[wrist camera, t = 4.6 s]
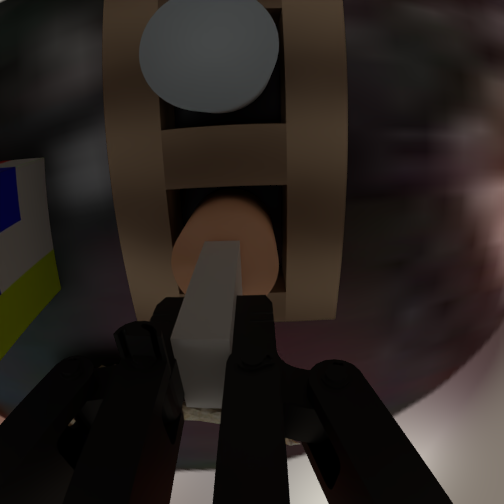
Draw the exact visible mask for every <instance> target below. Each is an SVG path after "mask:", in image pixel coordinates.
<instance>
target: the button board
mask: <svg viewBox="0 0 504 504" xmlns="http://www.w3.org/2000/svg"><path fill="white" fill-rule="evenodd" d="M168 1H169V0H104V9H103V38H102V70H103V100H104V117H105V131H106V143H107V153H108V162H109V171H110V179H111V187H112V194H113V201H114V208H115V215H116V221H117V227H118V233H119V238H120V244H121V249H122V254H123V259H124V264H125V269H126V274H127V279H128V283H129V288H130V292H131V296H132V301H133V305H134V309H135V313H136V317H137V321H149V322H150V319H151V317H152V315H153V312H154V310H155V308H156V306H157V304H158V303H160V302H161V301H162V300H163V299H164V298H165V297H185V294H184V293H183V291H182V290H181V289H180V287H179V286H178V284H177V282H176V280H175V278H174V275H173V272H172V266H171V257H172V251H173V247H174V245H175V242H176V240H177V239H178V237H179V235H180V233H181V232H182V230H183V218H182V208H181V198H180V189H185V188H203V187H224V186H253V185H282V268H279V271H278V276H277V279H276V282H275V284H274V286H273V288H272V289H271V291H270V292H269V293H268V295H267V297H268V298H269V299H270V301H271V302H272V305H273V316H274V322H285V321H308V320H326V319H335V316H336V308H337V299H338V290H339V281H340V270H341V260H342V248H343V235H344V221H345V204H346V183H347V151H348V91H347V60H346V41H345V25H344V12H343V1H342V0H257V1H258V2H259V3H260V4H261V5H263V7H264V8H265V9H266V10H267V11H268V13H269V14H270V16H271V17H272V19H273V21H274V23H275V24H278V38H279V66H280V98H281V123H242V124H221V125H206V126H192V127H181V128H175V117H174V105H172V104H170V103H168V102H166V101H165V100H163V99H162V98H161V97H159V96H158V95H157V94H156V93H155V92H154V91H153V90H152V89H151V87H150V86H149V85H148V83H147V81H146V80H145V78H144V75H143V73H142V70H141V66H140V61H139V46H140V41H141V37H142V34H143V31H144V29H145V27H146V25H147V23H148V22H149V20H150V19H151V17H152V16H153V15H154V14H155V12H156V11H157V10H158V9H159V8H160V7H161V6H163V5H164V4H165V3H166V2H168Z"/></svg>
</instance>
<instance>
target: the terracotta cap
mask: <svg viewBox="0 0 504 504" xmlns="http://www.w3.org/2000/svg"><path fill="white" fill-rule="evenodd" d="M237 240H240V256H241V276H242V295H266V296H267V295H268V293H269V292H270V291H271V289H272V288H273V286H274V284H275V282H276V279H277V276H278V271H279V259H278V253H277V247H276V241H275V235H274V229H273V223H272V218H271V215H270V212H269V211H268V209H267V207H266V206H265V204H264V203H263V202H262V201H261V200H260V199H259V198H258V197H256V196H255V195H253V194H252V193H250V192H247V191H245V190H241V189H235V188H227V189H221V190H217V191H215V192H212V193H211V194H209V195H207V196H206V197H205V198H203V199H202V200H201V201H200V203H199V204H198V205H197V207H196V208H195V210H194V212H193V213H192V215H191V217H190V218H189V220H188V222H187V223H186V225H185V227H184V228H183V230H182V232H181V233H180V235H179V237H178V239H177V240H176V242H175V245H174V247H173V251H172V257H171V266H172V272H173V275H174V278H175V280H176V282H177V284H178V286H179V287H180V289H181V290H182V291H183V293H184V294H186V291H187V288H188V286H189V283H190V280H191V277H192V274H193V272H194V269H195V266H196V263H197V261H198V258H199V255H200V252H201V250H202V247H203V244H204V242H205V241H237Z"/></svg>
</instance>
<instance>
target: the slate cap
mask: <svg viewBox="0 0 504 504" xmlns="http://www.w3.org/2000/svg"><path fill="white" fill-rule="evenodd" d="M278 52H279V38H278V32H277V29H276V25H275V23H274V21H273V19H272V17H271V16H270V14H269V13H268V11H267V10H266V9H265V8H264V7H263V5H261V4H260V3H259V2H258V1H257V0H169V1H168V2H166V3H165V4H164V5H163V6H161V7H160V8H159V9H158V10H157V11H156V12H155V14H154V15H153V16H152V17H151V19H150V20H149V22H148V23H147V25H146V27H145V29H144V31H143V34H142V37H141V41H140V46H139V61H140V66H141V70H142V73H143V75H144V78H145V80H146V81H147V83H148V85H149V86H150V87H151V89H152V90H153V91H154V92H155V93H156V94H157V95H158V96H159V97H161V98H162V99H163V100H165V101H166V102H168V103H170V104H172V105H174V106H176V107H179V108H182V109H186V110H190V111H199V112H209V113H229V112H234V111H237V110H240V109H242V108H244V107H246V106H248V105H249V104H251V103H252V102H254V101H255V100H256V99H257V98H258V97H259V96H260V95H261V94H262V92H263V91H264V89H265V88H266V86H267V84H268V81H269V79H270V76H271V74H272V72H273V69H274V67H275V64H276V61H277V57H278Z"/></svg>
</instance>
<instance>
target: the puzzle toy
mask: <svg viewBox="0 0 504 504" xmlns="http://www.w3.org/2000/svg"><path fill="white" fill-rule="evenodd" d="M60 290H61V286H60V281H59V276H58V271H57V266H56V260H55V255H54V249H53V242H52V236H51V228H50V221H49V212H48V203H47V192H46V180H45V162H44V157H43V158H30V159H19V160H9V161H0V360H1V359H2V358H3V357H4V355H5V354H6V353H7V351H8V350H9V349H10V348H11V346H12V345H13V344H14V343H15V341H16V340H17V339H18V338H19V337H20V335H21V334H22V333H23V332H24V331H25V329H26V328H27V327H28V326H29V325H30V323H31V322H32V321H33V320H34V319H35V318H36V317H37V315H38V314H39V313H40V312H41V311H42V310H43V309H44V307H45V306H46V305H47V304H48V303H49V302H50V301H51V300H52V298H53V297H54V296H55V295H56V294H57V293H58V292H59V291H60Z"/></svg>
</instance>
